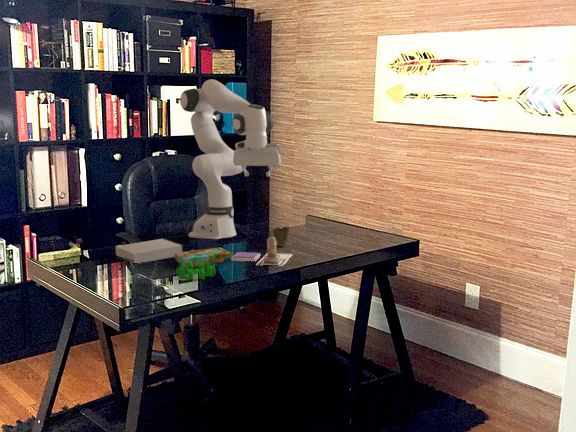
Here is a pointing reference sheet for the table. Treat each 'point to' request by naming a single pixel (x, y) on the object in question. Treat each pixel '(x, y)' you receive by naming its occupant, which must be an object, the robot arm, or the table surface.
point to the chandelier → (190, 270)
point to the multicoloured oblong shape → (202, 256)
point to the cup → (281, 235)
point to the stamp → (271, 252)
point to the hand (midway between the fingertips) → (257, 176)
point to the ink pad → (245, 256)
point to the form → (283, 260)
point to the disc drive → (149, 250)
